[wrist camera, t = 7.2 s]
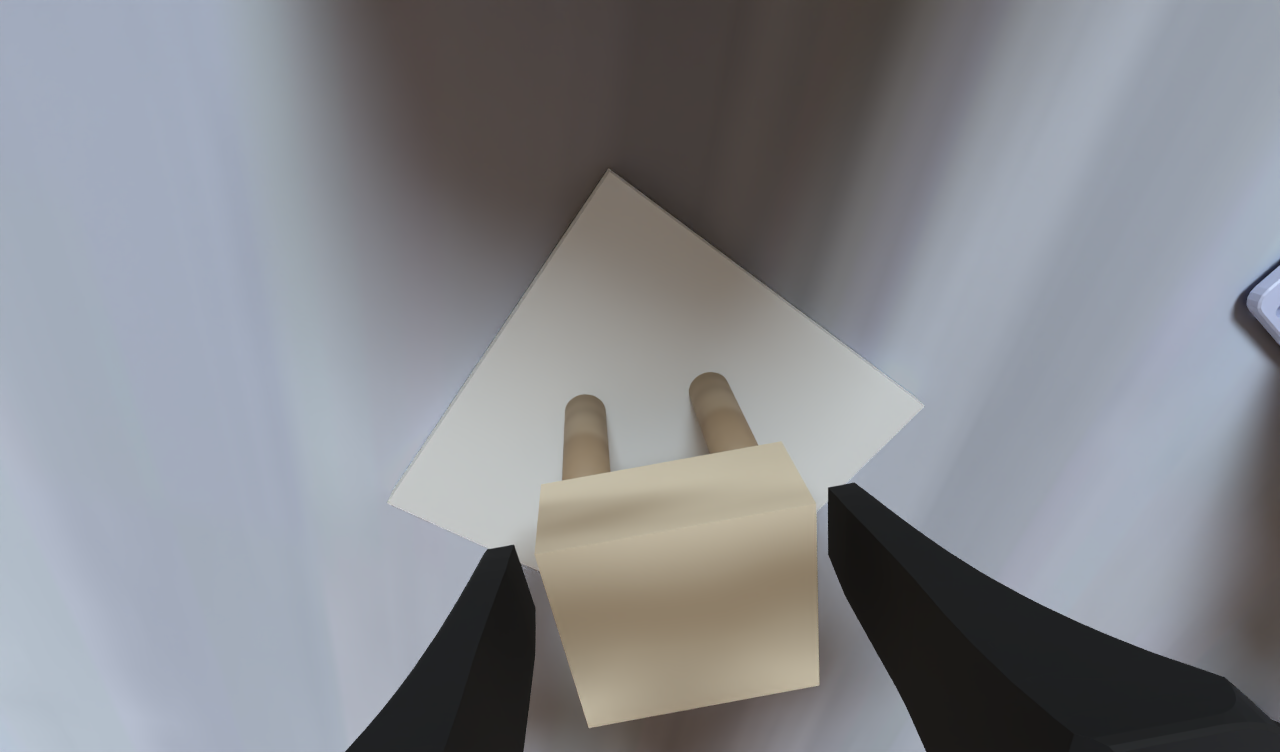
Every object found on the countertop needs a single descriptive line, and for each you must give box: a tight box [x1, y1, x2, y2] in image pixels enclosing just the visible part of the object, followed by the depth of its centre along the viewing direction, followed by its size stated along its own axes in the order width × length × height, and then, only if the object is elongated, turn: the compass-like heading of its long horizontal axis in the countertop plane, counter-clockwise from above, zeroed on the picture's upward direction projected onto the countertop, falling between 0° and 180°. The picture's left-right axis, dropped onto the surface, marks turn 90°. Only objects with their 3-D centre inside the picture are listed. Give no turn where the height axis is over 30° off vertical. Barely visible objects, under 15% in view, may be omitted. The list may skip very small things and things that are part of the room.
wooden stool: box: [534, 372, 819, 728], centre depth 14 cm, size 5×5×6 cm
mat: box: [387, 168, 924, 572], centre depth 17 cm, size 11×11×1 cm
